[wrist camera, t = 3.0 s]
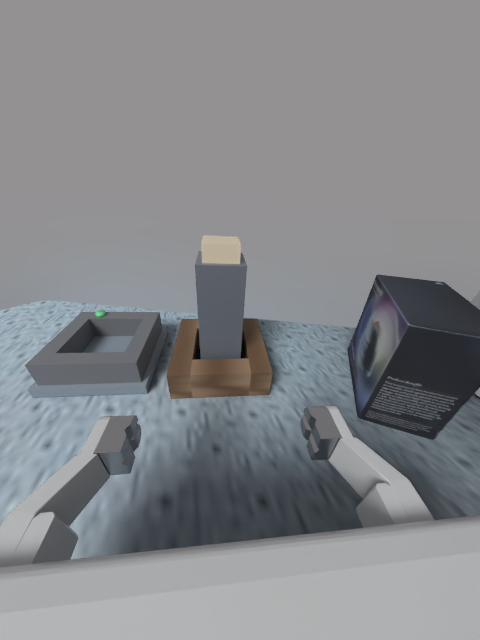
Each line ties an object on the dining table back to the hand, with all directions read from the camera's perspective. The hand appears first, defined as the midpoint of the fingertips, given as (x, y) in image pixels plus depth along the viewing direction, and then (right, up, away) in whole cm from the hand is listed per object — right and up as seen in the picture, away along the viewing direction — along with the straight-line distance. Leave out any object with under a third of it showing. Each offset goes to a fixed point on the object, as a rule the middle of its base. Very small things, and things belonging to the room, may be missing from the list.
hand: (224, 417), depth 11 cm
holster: (-1, 0, +14) cm, 14 cm away
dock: (-14, 0, +14) cm, 19 cm away
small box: (+16, -2, +13) cm, 20 cm away
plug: (-1, 0, +14) cm, 14 cm away
